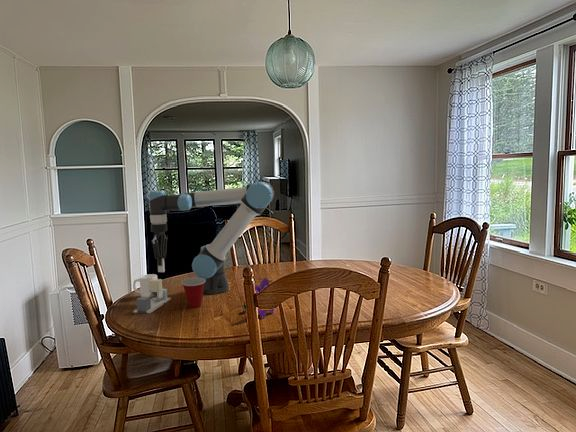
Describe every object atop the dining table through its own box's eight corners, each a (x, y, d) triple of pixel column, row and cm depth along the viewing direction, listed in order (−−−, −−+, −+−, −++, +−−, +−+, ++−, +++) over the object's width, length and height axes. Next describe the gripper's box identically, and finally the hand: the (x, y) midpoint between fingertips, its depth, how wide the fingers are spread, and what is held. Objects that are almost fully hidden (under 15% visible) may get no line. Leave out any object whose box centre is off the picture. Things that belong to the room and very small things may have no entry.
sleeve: (154, 297, 205) (153, 278, 205) (163, 297, 205) (162, 279, 204) (150, 299, 202) (148, 281, 201) (159, 299, 201) (158, 281, 200)
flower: (240, 329, 180) (263, 319, 173) (225, 296, 183) (247, 284, 176) (260, 318, 193) (282, 308, 186) (246, 287, 195) (268, 276, 188)
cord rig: (155, 298, 210) (154, 286, 209) (170, 299, 209) (169, 287, 208) (133, 312, 190) (132, 299, 190) (150, 313, 189) (149, 299, 188)
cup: (155, 298, 211) (154, 278, 210) (130, 299, 211) (129, 278, 210) (160, 293, 219) (159, 273, 218) (136, 294, 219) (135, 274, 218)
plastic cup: (180, 310, 191) (179, 283, 190) (184, 303, 202) (183, 277, 201) (205, 309, 192) (204, 282, 191) (208, 301, 203) (206, 276, 201)
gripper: (157, 221, 213) (160, 268, 216) (144, 225, 201) (147, 274, 203) (172, 221, 212) (174, 268, 215) (159, 225, 199) (162, 275, 202)
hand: (161, 271), depth 209 cm, fingers closed
